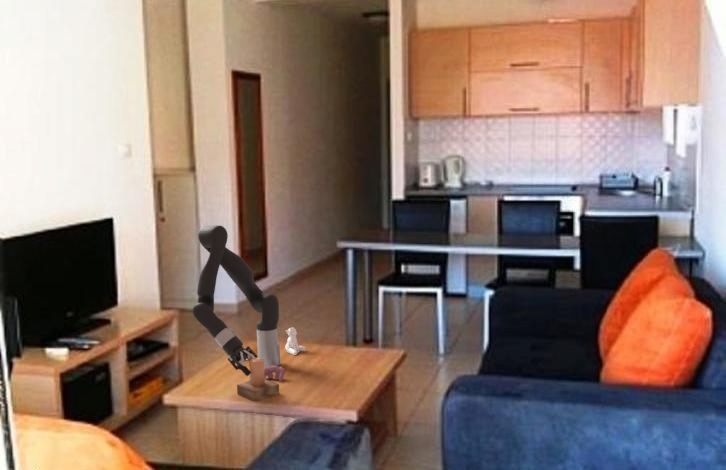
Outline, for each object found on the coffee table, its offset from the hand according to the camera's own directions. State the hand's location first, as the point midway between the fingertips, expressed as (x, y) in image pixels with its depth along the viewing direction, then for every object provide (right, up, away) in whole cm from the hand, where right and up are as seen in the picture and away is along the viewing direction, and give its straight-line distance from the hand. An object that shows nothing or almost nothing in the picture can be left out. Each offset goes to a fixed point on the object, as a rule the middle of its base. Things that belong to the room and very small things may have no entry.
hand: (254, 371), depth 302 cm
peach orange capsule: (+1, -5, 0) cm, 5 cm away
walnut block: (+1, -9, +1) cm, 9 cm away
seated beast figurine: (+10, -2, +58) cm, 59 cm away
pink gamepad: (+5, -7, +19) cm, 21 cm away
